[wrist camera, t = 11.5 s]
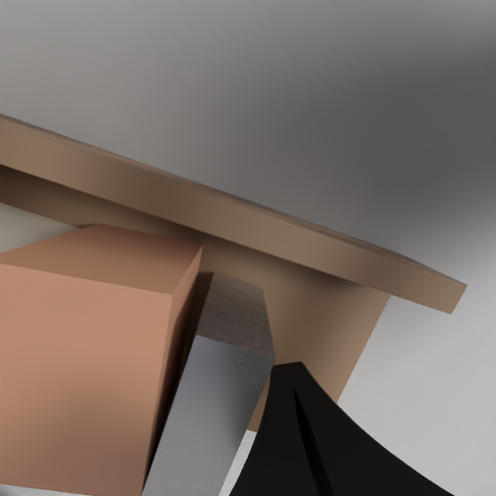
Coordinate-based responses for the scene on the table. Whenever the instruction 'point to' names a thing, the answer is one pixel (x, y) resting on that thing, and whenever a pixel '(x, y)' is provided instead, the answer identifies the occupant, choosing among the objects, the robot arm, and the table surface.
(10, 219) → the cream book
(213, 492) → the grey rectangular block
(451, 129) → the table surface
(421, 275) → the wooden shelf
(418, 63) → the table surface
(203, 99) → the table surface
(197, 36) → the table surface
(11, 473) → the salmon orange block
